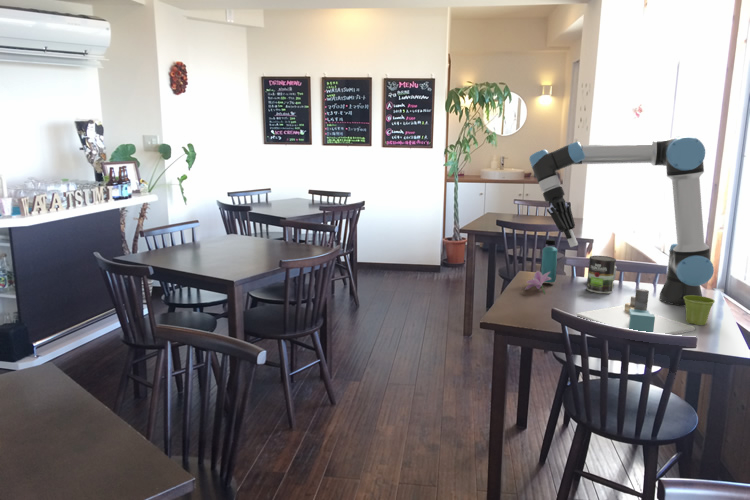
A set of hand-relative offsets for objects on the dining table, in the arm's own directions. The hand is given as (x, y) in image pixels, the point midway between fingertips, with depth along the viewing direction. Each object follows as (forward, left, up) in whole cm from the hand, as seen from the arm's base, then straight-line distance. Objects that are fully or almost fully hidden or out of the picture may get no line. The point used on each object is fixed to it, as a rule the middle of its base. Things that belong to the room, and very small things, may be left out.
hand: (574, 246), depth 211 cm
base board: (-2, +28, -22) cm, 36 cm away
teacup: (-37, -18, -23) cm, 47 cm away
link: (-6, +26, -21) cm, 34 cm away
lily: (0, -17, -23) cm, 29 cm away
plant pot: (-22, +37, -23) cm, 49 cm away
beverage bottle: (-12, -25, -23) cm, 36 cm away
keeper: (+3, +33, -21) cm, 40 cm away
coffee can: (-25, -8, -23) cm, 35 cm away
